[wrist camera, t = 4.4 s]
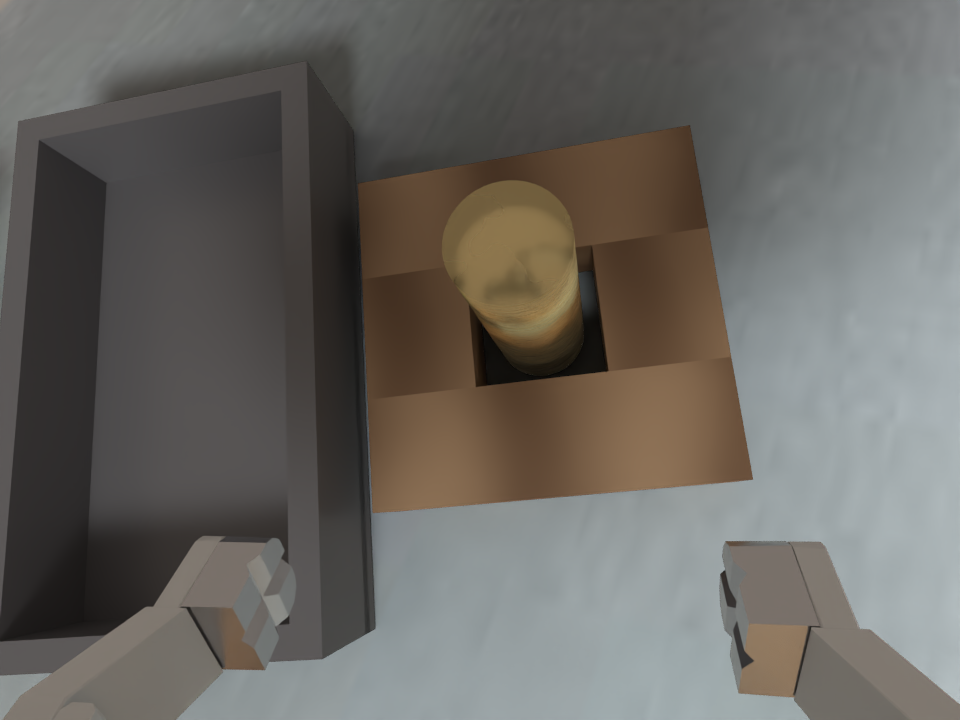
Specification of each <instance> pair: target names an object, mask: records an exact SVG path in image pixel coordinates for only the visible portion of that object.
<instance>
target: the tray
mask: <svg viewBox="0 0 960 720" xmlns="http://www.w3.org/2000/svg"><path fill="white" fill-rule="evenodd" d="M202 536H236V537H262V538H277V539H279V540H280V542H281V544H282V546H283V548H284V550H285V551H284V553H283V555H282V557H281V559H282V560H284V561H285V562H286V563H288V564H289V565H290V566H292V569H293V571H294V574H295V579H296V593H295V600H294V604H293V606H292V609H291V611H290V614H289V616H288V617H287V618H286V619H285V620H283V621H282V622H281V623H280V624H279V625H277V626H276V627H277V631H278V634H279V640H278V642H277V644H276V646H275V649H274V651H273V653H272V656H271V658H270V660H269V662H275V661H295V660H315V659H323V658H325V657H327V656H329V655H330V654H332V653H334V652H336V651H337V650H339V649H341V648H343V647H344V646H346V645H348V644H350V643H351V642H353V641H355V640H357V639H358V638H360V637H362V636H364V635H365V634H367V633H369V632H371V631H372V630H374V629H375V611H374V588H373V566H372V543H371V520H370V498H369V475H368V452H367V430H366V407H365V384H364V362H363V339H362V316H361V294H360V271H359V248H358V226H357V203H356V180H355V158H354V135H353V129H352V127H351V126H350V124H349V123H348V121H347V120H346V119H345V117H344V116H343V114H342V113H341V111H340V110H339V108H338V107H337V105H336V104H335V102H334V101H333V99H332V98H331V96H330V95H329V93H328V92H327V90H326V89H325V87H324V86H323V84H322V83H321V81H320V80H319V78H318V77H317V75H316V74H315V72H314V71H313V70H312V68H311V67H310V65H309V64H308V62H307V61H303V62H299V63H294V64H289V65H284V66H280V67H275V68H270V69H265V70H260V71H256V72H251V73H246V74H241V75H237V76H232V77H227V78H222V79H218V80H213V81H208V82H203V83H199V84H194V85H189V86H184V87H180V88H175V89H170V90H165V91H161V92H156V93H151V94H146V95H142V96H137V97H132V98H127V99H123V100H118V101H113V102H108V103H104V104H99V105H94V106H89V107H85V108H80V109H75V110H70V111H66V112H61V113H56V114H51V115H47V116H42V117H37V118H32V119H28V120H23V121H18V131H17V142H16V153H15V164H14V175H13V187H12V198H11V209H10V220H9V231H8V242H7V253H6V265H5V276H4V287H3V298H2V309H1V320H0V675H18V674H38V673H53V672H55V671H56V670H58V669H59V668H61V667H62V666H63V665H65V664H66V663H68V662H69V661H70V660H72V659H73V658H75V657H76V656H77V655H79V654H80V653H82V652H83V651H84V650H86V649H87V648H89V647H90V646H91V645H93V644H94V643H96V642H97V641H99V640H100V639H101V638H103V637H104V636H106V635H107V634H108V633H110V632H111V631H113V630H114V629H115V628H117V627H118V626H120V625H121V624H122V623H124V622H125V621H127V620H128V619H129V618H131V617H132V616H134V615H135V614H137V613H138V612H139V611H141V610H142V609H144V608H145V607H153V606H154V605H155V603H156V601H157V600H158V598H159V597H160V595H161V594H162V592H163V591H164V589H165V588H166V586H167V584H168V583H169V581H170V580H171V578H172V577H173V575H174V574H175V572H176V570H177V569H178V567H179V566H180V564H181V563H182V561H183V560H184V558H185V556H186V555H187V553H188V552H189V550H190V549H191V547H192V546H193V544H194V543H195V541H197V540H198V539H199V538H201V537H202Z"/></svg>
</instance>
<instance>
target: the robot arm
mask: <svg viewBox="0 0 960 720" xmlns="http://www.w3.org/2000/svg"><path fill="white" fill-rule="evenodd" d="M284 551H285V550H284V548H283V546H282V544H281V542H280V540H279V539H277V538H262V537H236V536H202V537H201V538H199V539H198V540H197V541H195V543H194V544H193V546H192V547H191V549H190V550H189V552H188V553H187V555H186V556H185V558H184V560H183V561H182V563H181V564H180V566H179V567H178V569H177V570H176V572H175V574H174V575H173V577H172V578H171V580H170V581H169V583H168V584H167V586H166V588H165V589H164V591H163V592H162V594H161V595H160V597H159V598H158V600H157V601H156V603H155V605H154V606H153V607H145V608H144V609H142V610H141V611H139V612H138V613H137V614H135V615H134V616H132V617H131V618H129V619H128V620H127V621H125V622H124V623H122V624H121V625H120V626H118V627H117V628H115V629H114V630H113V631H111V632H110V633H108V634H107V635H106V636H104V637H103V638H101V639H100V640H99V641H97V642H96V643H94V644H93V645H91V646H90V647H89V648H87V649H86V650H84V651H83V652H82V653H80V654H79V655H77V656H76V657H75V658H73V659H72V660H70V661H69V662H68V663H66V664H65V665H63V666H62V667H61V668H59V669H58V670H56V671H55V672H53V673H52V674H51V675H49V676H48V677H46V678H45V679H44V680H42V681H41V682H39V683H38V684H37V685H35V686H34V687H32V688H31V689H30V690H28V691H27V692H25V693H24V694H23V695H21V696H20V697H19V698H18V700H17V701H16V703H15V704H14V705H13V707H12V708H11V709H10V711H9V712H8V713H7V715H6V716H5V717H4V719H3V720H176V719H177V718H178V717H179V716H180V715H181V714H182V713H183V712H184V711H185V710H186V709H187V708H188V707H189V706H190V705H191V704H192V703H193V702H194V701H195V700H196V699H197V698H198V697H199V696H200V695H201V694H202V693H203V692H204V691H205V690H206V689H207V688H208V687H209V686H210V685H211V684H212V683H213V682H214V681H215V680H216V679H217V678H218V677H219V676H220V675H221V674H222V673H223V670H222V669H232V670H265V669H266V667H267V665H268V663H269V660H270V658H271V656H272V653H273V651H274V649H275V646H276V644H277V642H278V640H279V634H278V631H277V627H276V626H277V625H279V624H280V623H281V622H282V621H283V620H285V619H286V618H287V617H288V616H289V614H290V611H291V609H292V606H293V604H294V600H295V593H296V579H295V574H294V571H293V569H292V566H290V565H289V564H288V563H286V562H285V561H284V560H282V559H281V557H282V555H283V553H284ZM722 558H723V562H724V567H725V571H723V572H722V573H721V574H720V585H719V591H720V607H721V614H722V619H723V624H724V629H725V631H726V632H727V633H728V634H729V635H730V636H731V637H732V642H731V650H730V657H731V662H732V666H733V671H734V675H735V680H736V684H737V689H738V693H741V694H754V695H768V696H781V697H794V701H795V702H796V703H797V704H798V706H799V707H800V708H801V709H802V710H803V712H804V713H805V714H806V715H807V716H808V718H809V719H810V720H960V704H959V703H957V702H956V701H955V700H954V699H953V698H951V697H950V696H949V695H948V694H947V693H945V692H944V691H943V690H942V689H941V688H939V687H938V686H937V685H936V684H935V683H934V682H932V681H931V680H930V679H929V678H928V677H926V676H925V675H924V674H923V673H922V672H920V671H919V670H918V669H917V668H916V667H914V666H913V665H912V664H911V663H910V662H908V661H907V660H906V659H905V658H904V657H902V656H901V655H900V654H899V653H898V652H897V651H895V650H894V649H893V648H892V647H891V646H889V645H888V644H887V643H886V642H885V641H883V640H882V639H881V638H880V637H879V636H877V635H876V634H875V633H874V632H873V631H871V630H870V629H860V628H859V625H858V623H857V621H856V618H855V616H854V613H853V611H852V609H851V606H850V604H849V601H848V599H847V597H846V594H845V592H844V589H843V587H842V585H841V582H840V580H839V577H838V575H837V573H836V570H835V568H834V566H833V563H832V561H831V558H830V556H829V554H828V551H827V549H826V547H825V546H824V545H823V544H822V543H821V542H786V541H725V544H724V546H723V554H722Z"/></svg>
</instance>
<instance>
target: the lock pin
mask: <svg viewBox="0 0 960 720" xmlns="http://www.w3.org/2000/svg"><path fill="white" fill-rule="evenodd" d="M442 256H443V261H444V265H445V268H446V270H447V272H448V274H449V276H450V278H451V279H452V281H453V282H454V284H455V285H456V287H457V288H458V290H459V291H460V293H461V294H462V295H463V297H464V298H465V300H466V301H467V303H468V304H469V306H470V307H471V308H472V310H473V311H474V313H475V314H476V316H477V317H478V319H479V320H480V322H481V323H482V324H483V326H484V327H485V329H486V330H487V332H488V333H489V335H490V336H491V337H492V339H493V340H494V342H495V343H496V345H497V346H498V348H499V349H500V350H501V352H502V353H503V355H504V356H505V358H506V359H507V360H508V362H509V363H510V364H511V365H512V366H514V367H515V368H516V369H518V370H519V371H521V372H523V373H526V374H529V375H534V376H547V375H552V374H555V373H558V372H560V371H562V370H563V369H565V368H567V367H568V366H569V365H570V364H571V363H572V362H573V361H574V360H575V359H576V357H577V356H578V354H579V352H580V351H581V348H582V345H583V341H584V324H583V315H582V305H581V296H580V286H579V277H578V267H577V258H576V248H575V239H574V230H573V225H572V222H571V219H570V216H569V214H568V212H567V210H566V208H565V207H564V206H563V204H562V203H561V202H560V201H559V200H558V199H557V198H556V196H554V195H553V194H552V193H551V192H549V191H548V190H546V189H544V188H543V187H541V186H538V185H536V184H533V183H529V182H525V181H518V180H507V181H499V182H495V183H491V184H489V185H486V186H483V187H481V188H479V189H477V190H476V191H474V192H473V193H471V194H470V195H468V196H467V197H466V198H465V199H464V200H462V202H461V203H460V204H459V205H458V206H457V207H456V208H455V210H454V211H453V212H452V214H451V216H450V218H449V219H448V222H447V224H446V227H445V230H444V234H443V239H442Z"/></svg>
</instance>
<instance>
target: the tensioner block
mask: <svg viewBox="0 0 960 720" xmlns="http://www.w3.org/2000/svg"><path fill="white" fill-rule="evenodd" d="M507 180H518V181H525V182H529V183H533V184H536V185H538V186H541V187H543V188H544V189H546V190H548V191H549V192H551V193H552V194H553V195H554V196H556V198H557V199H558V200H559V201H560V202H561V203H562V204H563V206H564V207H565V208H566V210H567V212H568V214H569V216H570V219H571V222H572V225H573V230H574V239H575V248H576V258H577V267H578V272H584V271H591V270H593V275H594V282H595V290H596V297H597V305H598V313H599V320H600V328H601V335H602V343H603V350H604V358H605V365H606V372H599V373H590V374H582V375H573V376H565V377H556V378H548V379H540V380H531V381H523V382H514V383H506V384H497V385H489V386H487V377H486V365H485V354H484V343H483V331H482V323H481V322H480V320H479V319H478V317H477V316H476V314H475V313H474V311H473V310H472V308H471V307H470V306H469V304H468V303H467V301H466V300H465V298H464V297H463V295H462V294H461V293H460V291H459V290H458V288H457V287H456V285H455V284H454V282H453V281H452V279H451V278H450V276H449V274H448V272H447V270H446V268H445V265H444V261H443V256H442V239H443V234H444V230H445V227H446V224H447V222H448V219H449V218H450V216H451V214H452V212H453V211H454V210H455V208H456V207H457V206H458V205H459V204H460V203H461V202H462V200H464V199H465V198H466V197H467V196H468V195H470V194H471V193H473V192H474V191H476V190H477V189H479V188H481V187H483V186H486V185H489V184H491V183H495V182H499V181H507ZM358 197H359V219H360V241H361V263H362V286H363V308H364V330H365V352H366V374H367V397H368V419H369V441H370V463H371V486H372V508H373V513H380V512H396V511H408V510H419V509H430V508H442V507H453V506H464V505H476V504H487V503H498V502H510V501H521V500H533V499H544V498H555V497H567V496H578V495H589V494H601V493H612V492H623V491H635V490H646V489H657V488H669V487H680V486H692V485H703V484H714V483H726V482H737V481H744V480H752V479H753V477H752V471H751V465H750V460H749V454H748V449H747V443H746V437H745V432H744V426H743V421H742V415H741V409H740V404H739V398H738V393H737V387H736V381H735V376H734V370H733V365H732V359H731V353H730V348H729V342H728V337H727V331H726V325H725V320H724V314H723V309H722V303H721V297H720V292H719V286H718V281H717V275H716V269H715V264H714V258H713V253H712V247H711V241H710V236H709V230H708V224H707V219H706V213H705V208H704V202H703V196H702V191H701V185H700V180H699V174H698V168H697V163H696V157H695V152H694V146H693V140H692V135H691V129H690V125H689V126H683V127H677V128H671V129H666V130H660V131H654V132H649V133H643V134H637V135H632V136H626V137H620V138H614V139H609V140H603V141H597V142H592V143H586V144H580V145H574V146H569V147H563V148H557V149H552V150H546V151H540V152H534V153H529V154H523V155H517V156H512V157H506V158H500V159H495V160H489V161H483V162H477V163H472V164H466V165H460V166H455V167H449V168H443V169H437V170H432V171H426V172H420V173H415V174H409V175H403V176H398V177H392V178H386V179H380V180H375V181H369V182H363V183H358Z"/></svg>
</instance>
